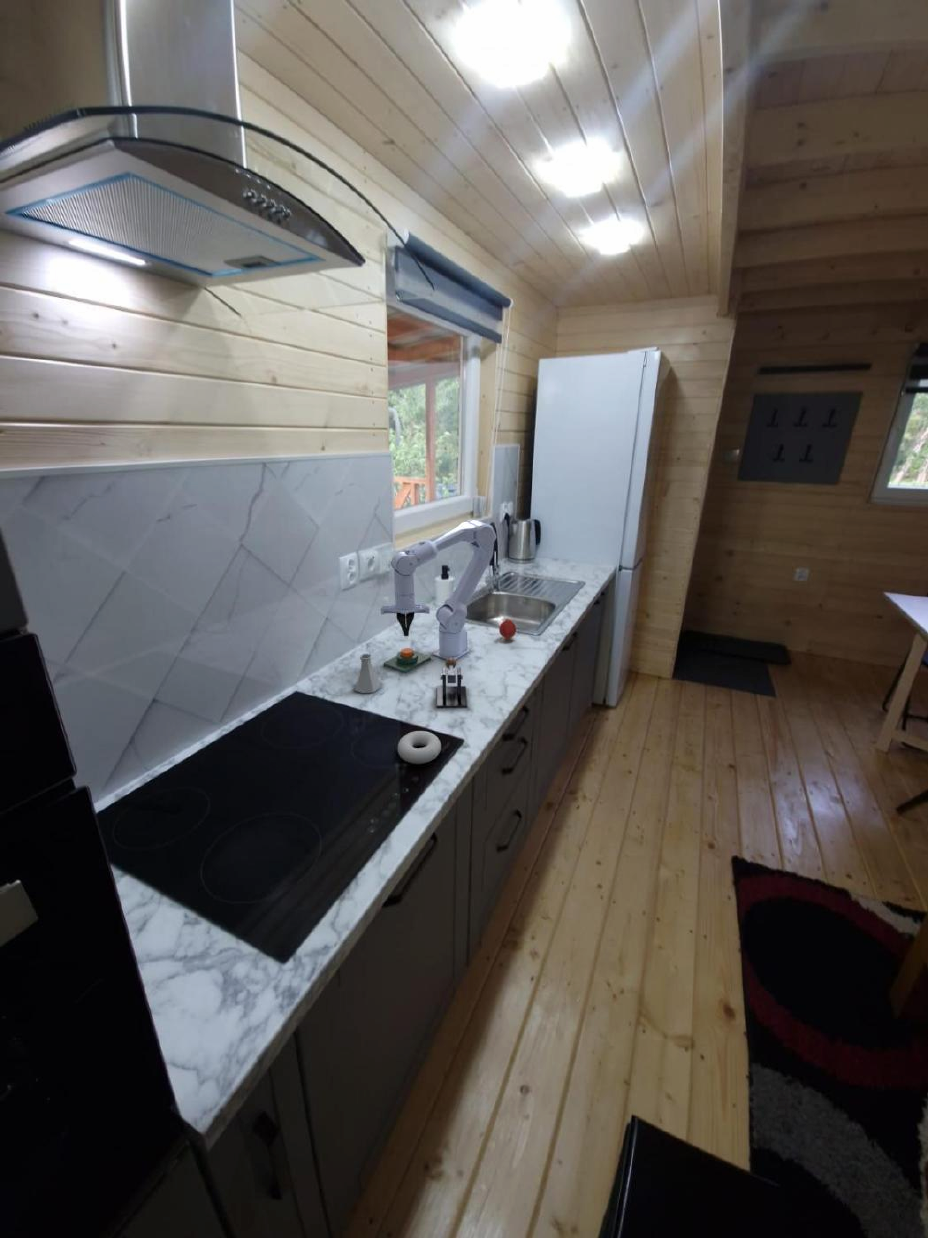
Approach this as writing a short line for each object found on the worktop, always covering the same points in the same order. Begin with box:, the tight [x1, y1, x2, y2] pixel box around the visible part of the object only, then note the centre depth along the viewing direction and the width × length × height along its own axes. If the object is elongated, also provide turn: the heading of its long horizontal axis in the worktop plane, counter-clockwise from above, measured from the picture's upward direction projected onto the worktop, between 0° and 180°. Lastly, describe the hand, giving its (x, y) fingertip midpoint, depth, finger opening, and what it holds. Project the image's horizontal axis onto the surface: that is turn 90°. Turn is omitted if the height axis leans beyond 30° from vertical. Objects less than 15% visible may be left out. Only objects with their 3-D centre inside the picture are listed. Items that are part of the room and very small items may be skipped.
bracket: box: [436, 666, 468, 709], centre depth 133 cm, size 10×8×9 cm
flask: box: [354, 653, 381, 694], centre depth 139 cm, size 7×7×10 cm
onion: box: [498, 618, 517, 641], centre depth 170 cm, size 6×6×8 cm
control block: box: [383, 650, 431, 674], centre depth 154 cm, size 12×9×3 cm
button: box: [400, 647, 414, 658], centre depth 153 cm, size 4×4×2 cm
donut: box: [397, 730, 442, 765], centre depth 113 cm, size 10×4×10 cm
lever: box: [444, 658, 457, 684], centre depth 136 cm, size 11×3×3 cm, turn 3°
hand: (406, 634), depth 152 cm, fingers closed
